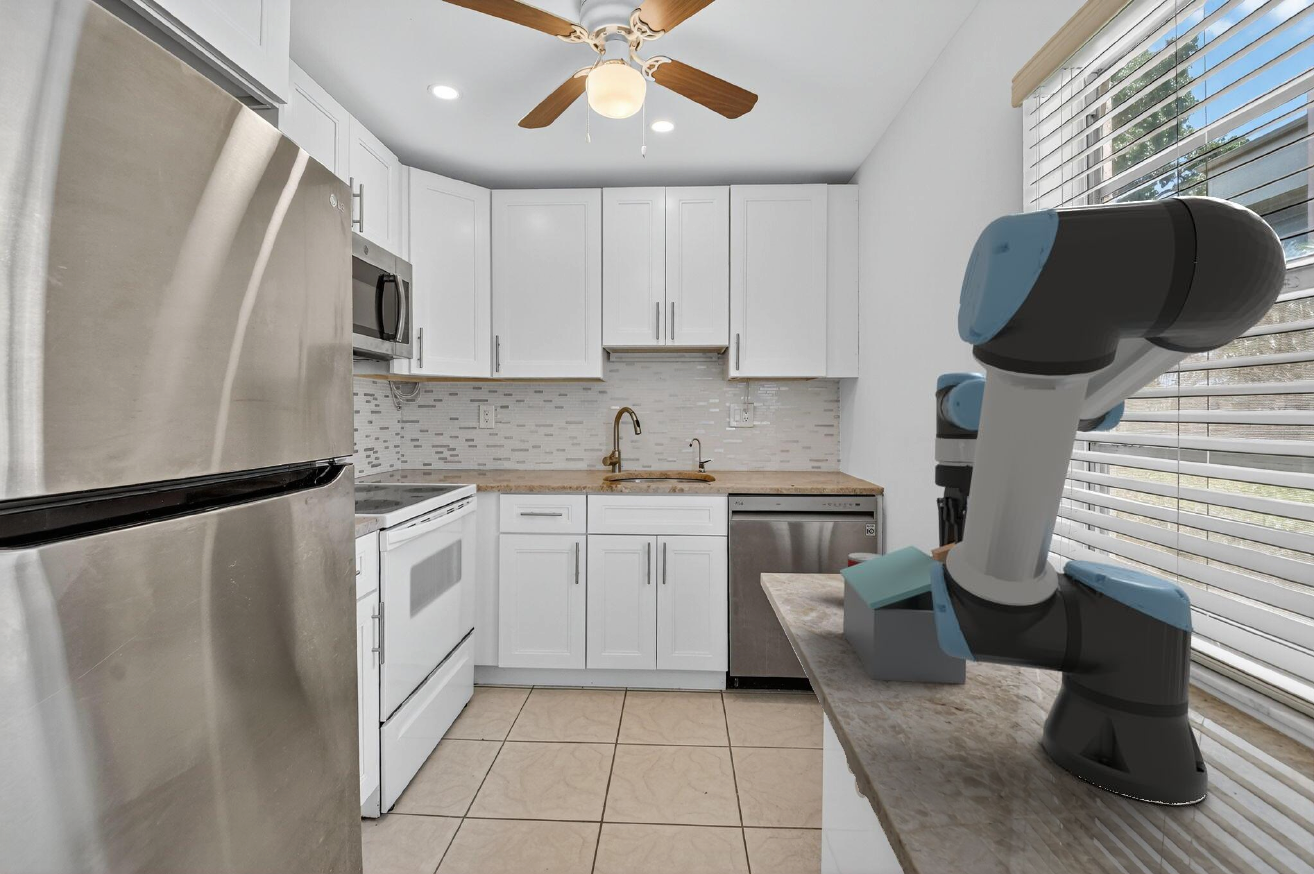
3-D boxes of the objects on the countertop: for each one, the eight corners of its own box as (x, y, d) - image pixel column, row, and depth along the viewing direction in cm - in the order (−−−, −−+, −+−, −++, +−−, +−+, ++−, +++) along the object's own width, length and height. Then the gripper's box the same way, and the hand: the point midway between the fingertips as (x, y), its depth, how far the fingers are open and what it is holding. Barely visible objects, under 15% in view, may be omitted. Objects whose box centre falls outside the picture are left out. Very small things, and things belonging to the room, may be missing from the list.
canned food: (840, 601, 129) (841, 553, 129) (869, 598, 132) (870, 551, 132) (861, 612, 122) (862, 561, 122) (892, 609, 124) (893, 559, 124)
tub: (965, 684, 89) (967, 614, 88) (872, 679, 90) (874, 610, 90) (918, 636, 109) (919, 579, 108) (843, 632, 110) (844, 576, 110)
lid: (1011, 608, 87) (992, 556, 88) (886, 648, 89) (867, 597, 89) (954, 572, 108) (938, 530, 108) (853, 606, 110) (837, 565, 110)
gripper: (1005, 467, 89) (1003, 616, 90) (962, 461, 105) (960, 588, 105) (955, 466, 90) (953, 614, 91) (920, 460, 106) (918, 586, 106)
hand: (957, 599), depth 98 cm, fingers closed on lid, 2 cm apart
